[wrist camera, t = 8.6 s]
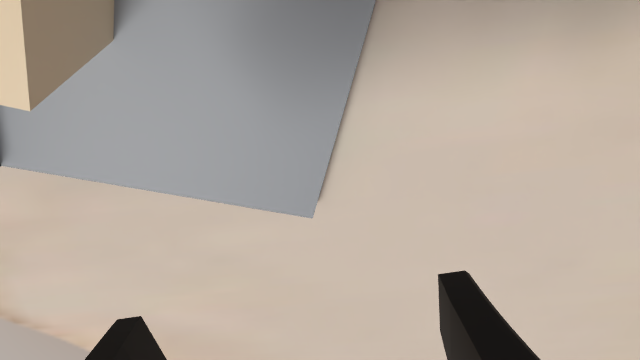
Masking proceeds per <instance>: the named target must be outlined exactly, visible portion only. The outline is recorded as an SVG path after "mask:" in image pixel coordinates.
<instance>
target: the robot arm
mask: <svg viewBox="0 0 640 360" xmlns="http://www.w3.org/2000/svg"><path fill="white" fill-rule="evenodd" d="M438 284H439V312H440V332H441V336H442V340H443V344H444V348H445V352H446V356H447V360H540V359H539V358H538V357H537V356H536V355H535V353H534V352H533V351H532V350H531V349H530V348H529V347H528V346H527V345H526V343H525V342H524V341H523V340H522V339H521V338H520V337H519V336H518V334H517V333H516V332H515V331H514V330H513V329H512V328H511V327H510V325H509V324H508V323H507V322H506V321H505V319H504V318H503V317H502V316H501V315H500V313H499V312H498V311H497V310H496V309H495V307H494V306H493V305H492V304H491V302H490V301H489V300H488V298H487V297H486V296H485V295H484V293H483V292H482V291H481V289H480V288H479V287H478V285H477V284H476V282H475V281H474V280H473V278H472V277H471V275H470V274H469V273H468V272H466V271H459V272H452V273H444V274H438ZM85 360H167V359H166V358H165V356H164V354H163V353H162V351H161V349H160V348H159V346H158V344H157V342H156V341H155V339H154V337H153V336H152V334H151V332H150V331H149V329H148V327H147V325H146V324H145V322H144V320H143V319H142V317H141V316H139V317H132V318H125V319H118V320H117V321H116V322H115V323H114V324H113V325H112V326H111V328H110V329H109V330H108V331H107V332H106V334H105V335H104V336H103V337H102V339H101V340H100V341H99V342H98V344H97V345H96V346H95V347H94V349H93V350H92V351H91V352H90V354H89V355H88V356H87V357H86V359H85Z"/></svg>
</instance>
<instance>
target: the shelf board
mask: <svg viewBox="0 0 640 360" xmlns="http://www.w3.org/2000/svg"><path fill="white" fill-rule="evenodd" d="M375 2H376V0H114V37H113V41H112V42H111V43H110V44H109V45H107V46H106V47H105V48H104V49H103V50H102V51H100V52H99V53H98V54H97V55H96V56H94V57H93V58H92V59H91V60H90V61H89V62H87V63H86V64H85V65H84V66H83V67H82V68H80V69H79V70H78V71H77V72H76V73H75V74H73V75H72V76H71V77H70V78H69V79H68V80H66V81H65V82H64V83H63V84H62V85H60V86H59V87H58V88H57V89H56V90H55V91H53V92H52V93H51V94H50V95H49V96H48V97H46V98H45V99H44V100H43V101H42V102H41V103H39V104H38V105H37V106H36V107H35V108H33V109H32V110H31V111H26V110H21V109H17V108H12V107H7V106H3V105H0V166H6V167H11V168H17V169H23V170H29V171H35V172H41V173H47V174H53V175H59V176H65V177H71V178H76V179H82V180H88V181H94V182H100V183H106V184H112V185H118V186H124V187H130V188H136V189H142V190H147V191H153V192H159V193H165V194H171V195H177V196H183V197H189V198H195V199H201V200H207V201H212V202H218V203H224V204H230V205H236V206H242V207H248V208H254V209H260V210H266V211H272V212H278V213H283V214H289V215H295V216H301V217H307V218H313V215H314V212H315V208H316V205H317V201H318V198H319V194H320V191H321V187H322V184H323V181H324V177H325V174H326V170H327V167H328V163H329V160H330V156H331V153H332V150H333V146H334V143H335V139H336V136H337V132H338V129H339V125H340V122H341V119H342V115H343V112H344V108H345V105H346V101H347V98H348V94H349V91H350V88H351V84H352V81H353V77H354V74H355V70H356V67H357V64H358V60H359V57H360V53H361V50H362V46H363V43H364V39H365V36H366V33H367V29H368V26H369V22H370V19H371V15H372V12H373V8H374V5H375Z"/></svg>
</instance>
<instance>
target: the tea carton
mask: <svg viewBox="0 0 640 360" xmlns="http://www.w3.org/2000/svg"><path fill="white" fill-rule="evenodd" d="M113 37H114V0H0V105H3V106H7V107H12V108H17V109H21V110H26V111H31V110H32V109H33V108H35V107H36V106H37V105H38V104H39V103H41V102H42V101H43V100H44V99H45V98H46V97H48V96H49V95H50V94H51V93H52V92H53V91H55V90H56V89H57V88H58V87H59V86H60V85H62V84H63V83H64V82H65V81H66V80H68V79H69V78H70V77H71V76H72V75H73V74H75V73H76V72H77V71H78V70H79V69H80V68H82V67H83V66H84V65H85V64H86V63H87V62H89V61H90V60H91V59H92V58H93V57H94V56H96V55H97V54H98V53H99V52H100V51H102V50H103V49H104V48H105V47H106V46H107V45H109V44H110V43H111V42H112V41H113Z"/></svg>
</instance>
